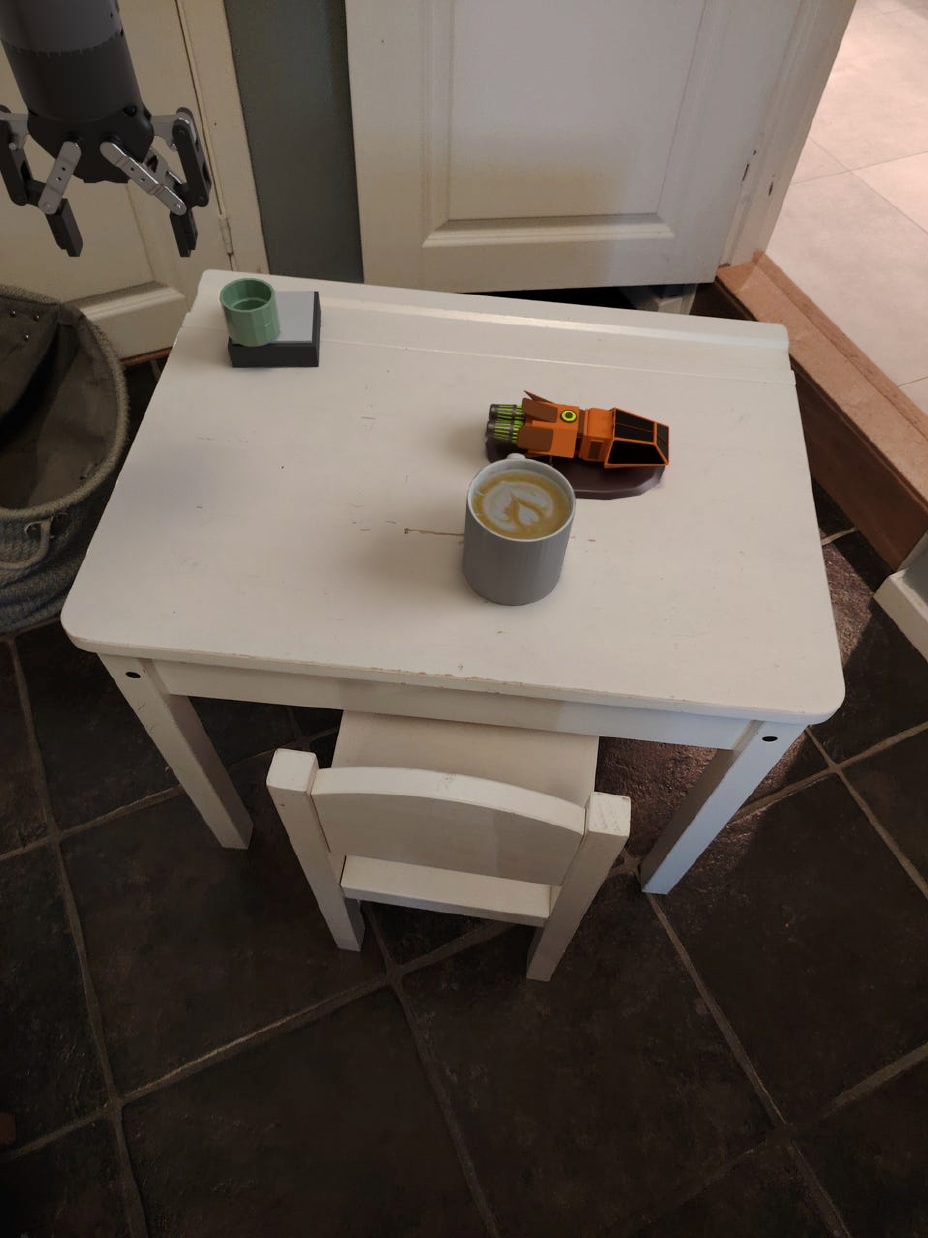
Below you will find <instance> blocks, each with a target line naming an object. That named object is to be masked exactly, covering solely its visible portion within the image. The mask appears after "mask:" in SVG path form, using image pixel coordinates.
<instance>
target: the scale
mask: <svg viewBox="0 0 928 1238" xmlns="http://www.w3.org/2000/svg"><path fill="white" fill-rule="evenodd" d="M274 291H275V290H274ZM275 296H276V302H277V308H278V314H279V320H280V332H279V333H278V335H277V336H276V338H275V339H274V340H272V341H271V342H270V343H268V344H266V345H263V346H259V347H247V346H243V345H241V344H239V343H237V342H235V341H234V340H232V339H231V338H230V336H229V335H228V340H227V351H228V356H229V359H230V363H231V367H232V368H235V369H236V368H239V369H240V368H318V367H320V346H321V325H322V307H321V300H320V291H317V290H315V291H314V290H286V291H285V290H276V291H275Z"/></svg>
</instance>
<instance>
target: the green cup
mask: <svg viewBox="0 0 928 1238" xmlns="http://www.w3.org/2000/svg"><path fill="white" fill-rule="evenodd" d="M219 302H220V303H219V304H220V306H221V310H222V315H223V319H224V323H225V328H226V332H227V334H228V337H229V336H230V338H231V339H232V340H234V341H235V342H237V343H239V344H241V345H243V346H247V347H259V346H263V345H266V344H268V343H270V342H271V341H272V340H274V339H275V338H276V336H277V335H278V333H279V332H280V320H279V314H278V308H277V302H276V296H275V289H274V287H273V286H272V284H270V283H268V282H267V281H266V280H263V279H259V278H254V277H243V278H239V279H235V280H233V281H230V282H229V283H227V284H226V285H224V286H223V288H221V290H220V293H219Z"/></svg>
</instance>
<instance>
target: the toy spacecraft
mask: <svg viewBox="0 0 928 1238" xmlns="http://www.w3.org/2000/svg"><path fill="white" fill-rule="evenodd" d="M523 392H524V393H525V394H526V395H527V396H528V397H522V399H521V400H522V401H521V404H516V403H515V404H513V403H509V404H508V403H491V404H490V405H489V410H488V420H487V422H486V427H485V429H486V430H485V437H486V438H487V440H486V441H485V443H484V444H485V448H486V455H487V459H488V460H487V461H488V462H489V463H490V464H492V463H495V462H497V461H501V460H505V459H506V458H507V457H508V455H510V454H512V453H517V454H521V455H523V456H524V457H525V459H530V460H535V461H538V462H542V463H544V464H547V465H549V466H550V467H552V468H554V469H556V470H557V471H558V472H560V473H561V474H562V475H563V476H564V477H565V478H566V479H567V480H568V482H569V483H570V485H571V487H572V488H573V491H574V494H575V497H576V499H587V500H588V499H589V500H590V499H591V500H616V499H623V498H629V497H636V496H641V495H643V494H645V493H646V492H648V491H649V490H650V489H652V488H653V487H655V486H657V485H658V484H660V483H661V479H662V477H663V474H664V472H665V469H666V466H669V465H670V425H667V424H664V423H662V422H658V421H655V420H654V419H650V418H647V417H644V416H641V415H639V414H635V413H632V412H630V411H627V410H624V409H622V408H618V407H615V406H614V407H612V408H610V409H608V410H607V409H604V408H598V407H590V408H585V410H584V409H582V408H580V406H577V405H571V404H570V405H569V404H563V403H562V404H560V403H555V402H553V401H551V400H548V399H546V398H544V397H542V396H539V395H537V394H534V393H532V392H530V391H528V390H525V389H523Z"/></svg>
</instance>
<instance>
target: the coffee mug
mask: <svg viewBox="0 0 928 1238" xmlns="http://www.w3.org/2000/svg"><path fill="white" fill-rule="evenodd" d="M466 492H467V493H466V500H465V514H464V529H463V531H464V532H463V545H462V558H461V560H462V561H461V566H462V571H463V572H462V573H463V575H464V577H465V579H466V581H467V582H468V585H470V587H471V588H472V589H473V591H475V592H476V593H478V595H480V596H482V597H484V598H485V599H487V600H489V601H492V602H494V603H497V604H500V605H507V606H524V605H528V604H532V603H535V602H538V601H540V600H541V599H544V598H545V597H547V596H548V595H549V594H550V593H551V592H552V591H553V590H554V588H555V587H556V586H557V585H558V582H559V580H560V577H561V574H562V569H563V565H564V562H565V561H564V560H565V557H566V553H567V548H568V544H569V540H570V535H571V532H572V527H573V523H574V519H575V515H576V509H577V498H576V497H575V494H574V491H573V488H572V487H571V485H570V483H569V482H568V480H567V479H566V478H565V477H564V476H563V475H562V474H561V473H560V472H558V471H557V470H556V469H554V468H552V467H550V466H549V465H547V464H544V463H542V462H538V461H535V460H530V459H525V457H524V456H523V455H521V454H517V453H512V454H510V455H508V457H507V458H506V459H505V460H501V461H497V462H495V463H492V464H491V463H490V464H488V465H486V466H485V467H482V468H481V470H479V471H478V472H477V473H476V474H475V475H474V476H473V478H472V479H471V481H470V482H469V485H468V488H467V491H466Z"/></svg>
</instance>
